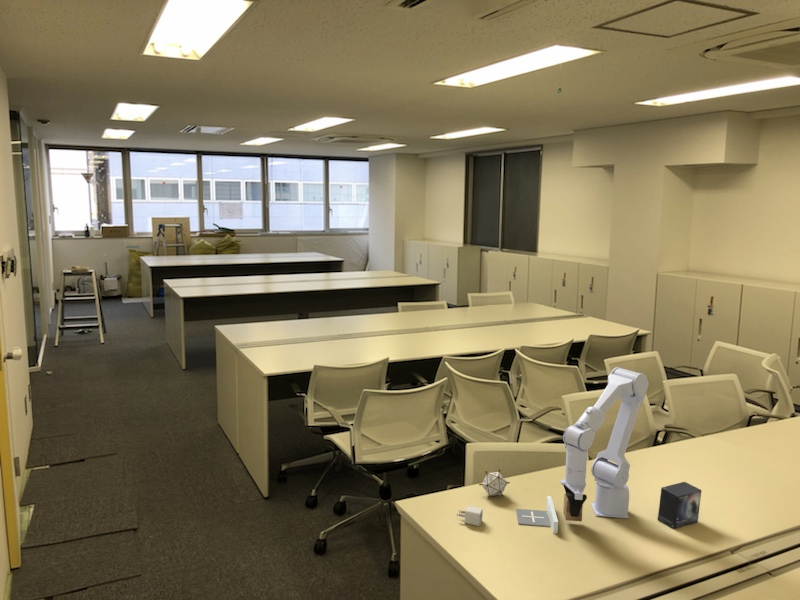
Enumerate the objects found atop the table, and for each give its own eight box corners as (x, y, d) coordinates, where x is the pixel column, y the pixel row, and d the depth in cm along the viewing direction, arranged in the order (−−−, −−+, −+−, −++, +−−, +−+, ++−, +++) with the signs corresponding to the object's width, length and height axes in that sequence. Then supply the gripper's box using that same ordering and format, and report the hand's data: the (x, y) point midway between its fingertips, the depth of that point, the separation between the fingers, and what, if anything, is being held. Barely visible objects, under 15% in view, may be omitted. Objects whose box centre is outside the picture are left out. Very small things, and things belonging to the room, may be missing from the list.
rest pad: (546, 511, 188) (546, 510, 188) (550, 526, 179) (550, 525, 179) (516, 509, 189) (516, 508, 189) (518, 524, 180) (518, 523, 180)
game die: (498, 508, 197) (508, 493, 190) (473, 496, 198) (482, 481, 191) (504, 485, 203) (515, 470, 196) (481, 474, 204) (490, 458, 197)
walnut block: (578, 513, 182) (580, 494, 181) (581, 521, 178) (582, 501, 177) (563, 512, 183) (564, 493, 182) (565, 520, 178) (566, 500, 177)
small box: (675, 530, 179) (678, 496, 177) (656, 520, 184) (659, 487, 183) (699, 522, 184) (702, 489, 182) (680, 513, 189) (683, 480, 188)
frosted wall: (550, 506, 191) (550, 496, 190) (557, 533, 175) (558, 522, 175) (546, 506, 191) (547, 495, 191) (553, 533, 175) (553, 521, 175)
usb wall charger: (479, 527, 178) (479, 514, 177) (455, 522, 180) (456, 509, 179) (482, 520, 181) (482, 507, 181) (459, 516, 184) (459, 503, 183)
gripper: (558, 456, 186) (555, 499, 188) (565, 477, 171) (562, 523, 173) (582, 458, 185) (579, 500, 187) (591, 479, 171) (588, 525, 173)
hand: (572, 511), depth 180 cm, fingers closed on walnut block, 4 cm apart
